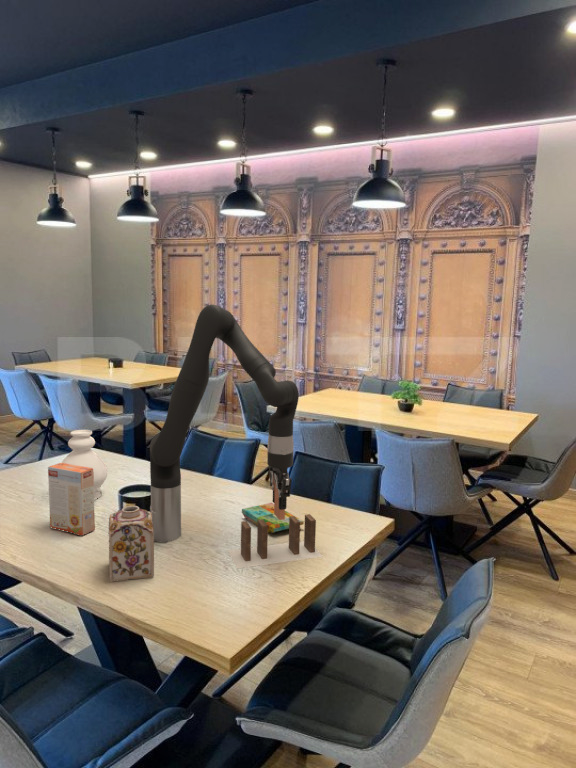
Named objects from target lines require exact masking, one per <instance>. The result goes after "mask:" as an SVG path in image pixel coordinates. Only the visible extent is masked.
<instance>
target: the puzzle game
mask: <svg viewBox="0 0 576 768" xmlns="http://www.w3.org/2000/svg"><path fill="white" fill-rule="evenodd" d="M241 514H242V515H243V516H244V518H245V519H246V520H247V521H249V522H251V523H252V524H254V525H256V527H257V526H258V520H261V519H263V520H264V522H265V523H266V524H267V525H268V533H269V534H273V533H277V532H281V531H284V530H289V516H295V515H293V514H292V513H290V512H288V511H287V510H285V519H284V520H279V519H278V518H277V517H276V515H275V514H274V503H273V502H268V503H264V504H260V505H259V504H258V505H255V506H250V507H245V508H242V509H241ZM295 517H296V518H297V519H298V520H299V521H300V526H303V525H305V520H302V519H300V518H299V517H297V516H295Z"/></svg>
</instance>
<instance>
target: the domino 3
mask: <svg viewBox="0 0 576 768" xmlns="http://www.w3.org/2000/svg"><path fill="white" fill-rule="evenodd" d="M279 486H282V485H279ZM274 491H275V496H274V503H273V504H274V514H275V515H276V517H277V518H278V519H279V520H284V519H285V511H286V509H283V510H280V509H279V493H278V489H277V488H276V482H275V490H274ZM284 493H285V491H284Z"/></svg>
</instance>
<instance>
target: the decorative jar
mask: <svg viewBox="0 0 576 768" xmlns="http://www.w3.org/2000/svg"><path fill="white" fill-rule="evenodd" d="M108 520H109V521H108V566H109V567H108V568H109V570H108V571H109V575H108V577H109V582H110V581H114V582H120V581H119V580H123V581H129V580H128V579H132V580H139V579H140V578H142V579H149V578H154V576H155V541H154V529H153V522H152V521H153V520H152V514H151V512H150V510H149V511H148V510H147V509H142V508H140V507H139V506H137V505H127V506H125V507H123V508H121V510H118V511H116V512H113V513H111V514H110V515H109V517H108ZM117 580H118V581H117Z"/></svg>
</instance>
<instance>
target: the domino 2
mask: <svg viewBox="0 0 576 768" xmlns="http://www.w3.org/2000/svg"><path fill="white" fill-rule="evenodd" d="M256 527H257V529H256V530H257V531H256V533H257V535H256V536H257V538H256V539H257V541H256V547H257V553H258V554H259V556H260V557H261V559H267V545H268V536H269V535H268V525H267V524H266V523H265V522H264V520H263V519H261V520H258V526H257V525H256Z"/></svg>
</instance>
